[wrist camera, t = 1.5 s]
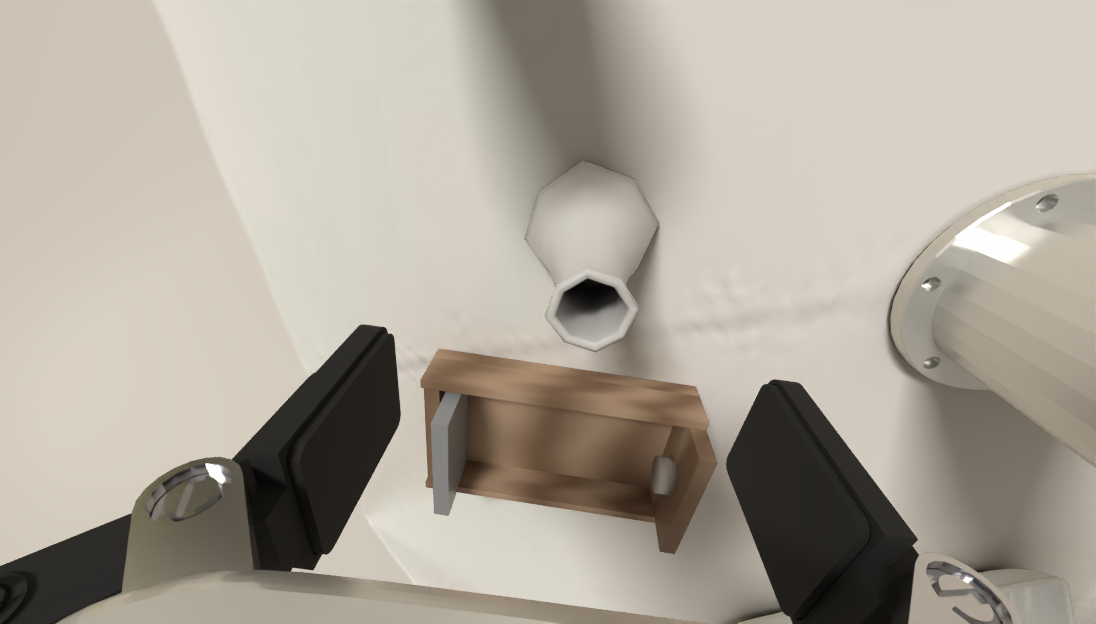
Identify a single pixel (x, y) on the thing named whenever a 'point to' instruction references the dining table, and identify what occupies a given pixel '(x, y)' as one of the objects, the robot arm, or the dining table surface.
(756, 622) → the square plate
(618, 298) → the flask
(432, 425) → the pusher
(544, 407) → the wooden tray
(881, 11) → the dining table surface
